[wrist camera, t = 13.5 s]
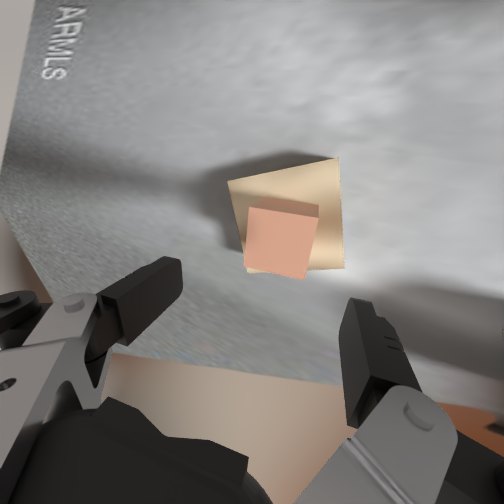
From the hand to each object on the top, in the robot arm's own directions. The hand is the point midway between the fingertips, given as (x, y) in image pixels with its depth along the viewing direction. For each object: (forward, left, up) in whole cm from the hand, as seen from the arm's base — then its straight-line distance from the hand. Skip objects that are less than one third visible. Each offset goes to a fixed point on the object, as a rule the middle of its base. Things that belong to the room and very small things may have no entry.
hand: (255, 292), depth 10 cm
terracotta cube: (0, 0, -12) cm, 12 cm away
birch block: (0, 0, -17) cm, 17 cm away
